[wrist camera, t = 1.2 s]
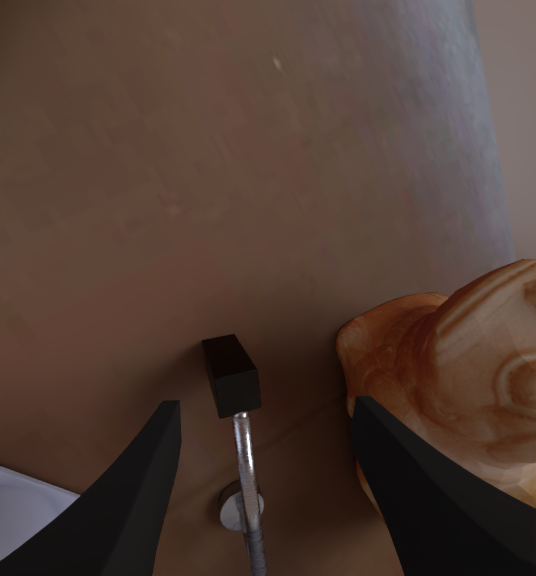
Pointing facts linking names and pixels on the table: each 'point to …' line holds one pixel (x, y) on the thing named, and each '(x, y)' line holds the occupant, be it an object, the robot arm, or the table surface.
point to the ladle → (238, 440)
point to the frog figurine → (456, 373)
